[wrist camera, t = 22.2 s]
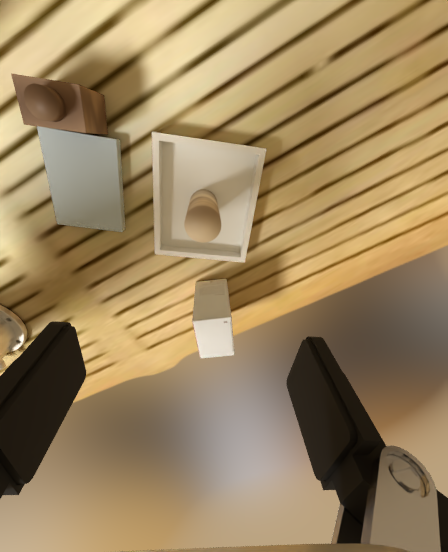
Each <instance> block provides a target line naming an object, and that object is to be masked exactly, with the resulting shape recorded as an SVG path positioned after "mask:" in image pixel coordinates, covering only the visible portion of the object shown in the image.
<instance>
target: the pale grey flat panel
mask: <svg viewBox="0 0 448 552" xmlns="http://www.w3.org/2000/svg"><path fill="white" fill-rule="evenodd" d="M37 129H38V134H39V139H40V143H41V148H42V153H43V158H44V163H45V168H46V172H47V177H48V182H49V187H50V192H51V196H52V201H53V206H54V211H55V216H56V221H57V224H60V225H68V226H76V227H84V228H92V229H101V230H109V231H117V232H123V231H124V230H125V213H124V196H123V180H122V163H121V147H120V139H114V138H108V137H102V136H96V135H90V134H84V133H78V132H72V131H66V130H60V129H54V128H47V127H40V126H37Z"/></svg>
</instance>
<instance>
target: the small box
mask: <svg viewBox="0 0 448 552" xmlns="http://www.w3.org/2000/svg"><path fill="white" fill-rule="evenodd" d="M192 322H193V327H194V331H195V336H196V341H197V346H198V350H199V355H200V358H209V357H219V356H229V355H235V350H234V342H233V331H232V317H231V309H230V301H229V293H228V286H227V279H218V280H208V281H199V282H196V286H195V297H194V308H193V319H192Z"/></svg>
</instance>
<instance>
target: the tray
mask: <svg viewBox="0 0 448 552" xmlns="http://www.w3.org/2000/svg"><path fill="white" fill-rule="evenodd" d="M265 154H266V148H260V147H253V146H246V145H239V144H232V143H225V142H219V141H212V140H205V139H198V138H191V137H184V136H178V135H171V134H164V133H157V132H152V161H153V203H154V245H155V254H157V255H168V256H179V257H190V258H201V259H212V260H222V261H233V262H244V263H245V259H246V254H247V249H248V243H249V238H250V233H251V228H252V222H253V217H254V212H255V207H256V201H257V196H258V191H259V186H260V180H261V175H262V170H263V165H264V159H265ZM201 189H205V190H209V191H211V192H212V193H213V194H214V195H215V197H216V199H217V203H218V208H219V214H220V219H221V230H220V233H219V235H218V236H217V237H216V238H215V239H214V240H212V241H210V242H205V243H201V242H197V241H195V240H193V239H191V238H190V237H189V236H188V234H187V233H186V231H185V227H184V222H185V218H186V214H187V210H188V206H189V202H190V198H191V196H192V195H193V193H194V192H196V191H198V190H201Z"/></svg>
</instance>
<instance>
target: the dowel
mask: <svg viewBox="0 0 448 552" xmlns="http://www.w3.org/2000/svg"><path fill="white" fill-rule="evenodd" d="M184 227H185V231H186V233H187V234H188V236H189V237H190V238H191V239H193V240H195V241H197V242H201V243H205V242H210V241H212V240H214V239H215V238H216V237H217V236H218V235H219V233H220V230H221V219H220V214H219V208H218V203H217V199H216V197H215V195H214V194H213V193H212V192H211V191H209V190H205V189H201V190H198V191H196V192H194V193H193V195H192V196H191V198H190V202H189V206H188V210H187V214H186V218H185V222H184Z"/></svg>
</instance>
